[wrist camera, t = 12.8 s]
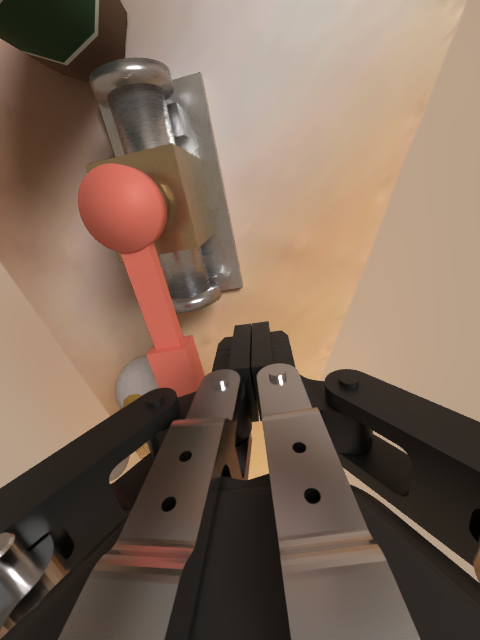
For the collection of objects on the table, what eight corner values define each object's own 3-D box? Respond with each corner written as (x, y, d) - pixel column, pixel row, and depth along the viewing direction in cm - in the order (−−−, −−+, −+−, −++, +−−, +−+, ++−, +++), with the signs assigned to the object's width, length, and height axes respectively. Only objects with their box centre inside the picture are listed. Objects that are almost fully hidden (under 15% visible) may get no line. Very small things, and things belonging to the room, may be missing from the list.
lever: (82, 176, 17) (60, 174, 15) (154, 157, 16) (140, 153, 14) (161, 385, 23) (152, 402, 21) (217, 378, 22) (212, 395, 20)
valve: (163, 298, 31) (116, 346, 21) (102, 104, 24) (-11, 40, 14) (243, 285, 30) (232, 330, 20) (202, 75, 23) (154, -16, 13)
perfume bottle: (192, 348, 34) (157, 423, 23) (188, 411, 38) (157, 499, 27) (130, 339, 34) (66, 409, 23) (133, 403, 38) (80, 487, 27)
